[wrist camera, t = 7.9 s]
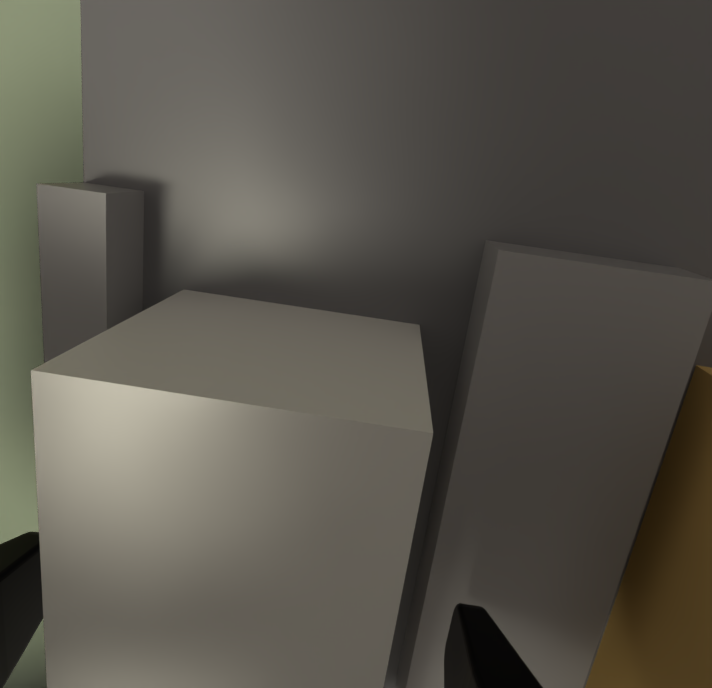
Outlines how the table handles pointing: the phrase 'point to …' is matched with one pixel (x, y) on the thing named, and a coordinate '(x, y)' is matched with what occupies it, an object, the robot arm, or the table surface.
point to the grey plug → (228, 496)
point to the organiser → (430, 252)
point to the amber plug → (669, 568)
